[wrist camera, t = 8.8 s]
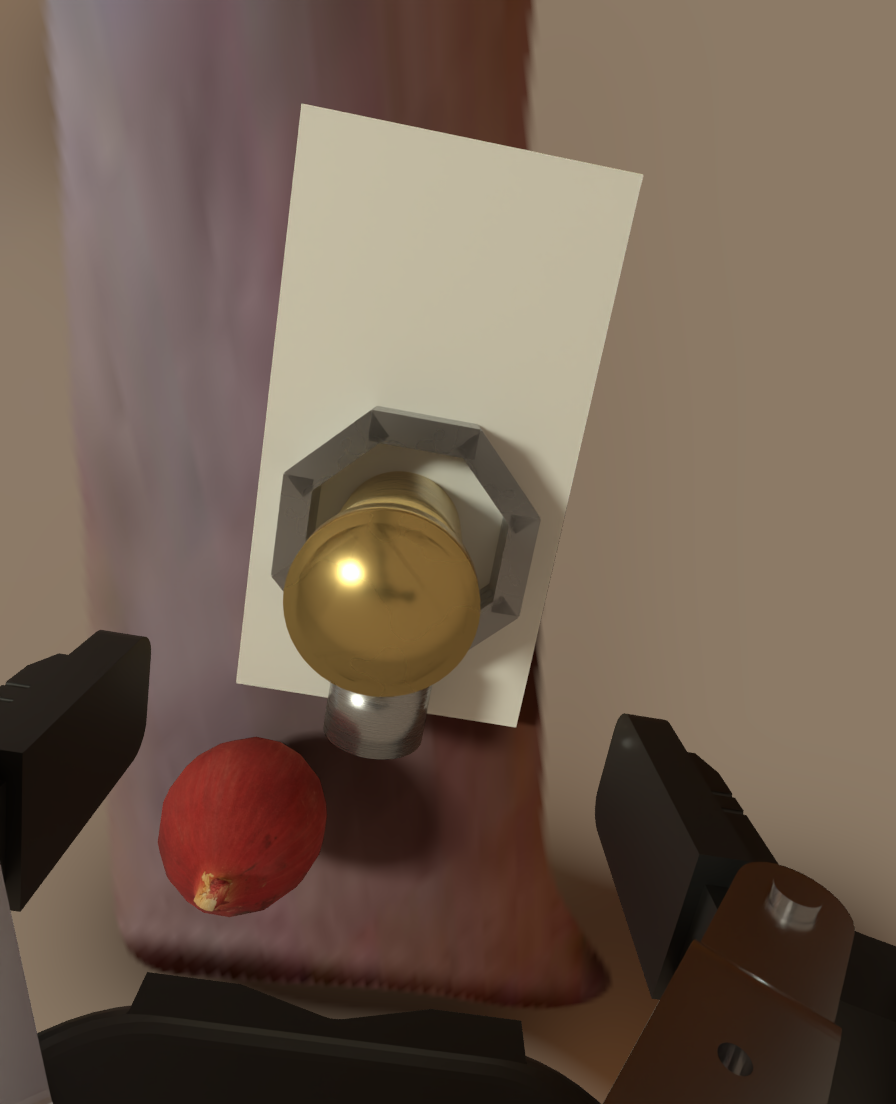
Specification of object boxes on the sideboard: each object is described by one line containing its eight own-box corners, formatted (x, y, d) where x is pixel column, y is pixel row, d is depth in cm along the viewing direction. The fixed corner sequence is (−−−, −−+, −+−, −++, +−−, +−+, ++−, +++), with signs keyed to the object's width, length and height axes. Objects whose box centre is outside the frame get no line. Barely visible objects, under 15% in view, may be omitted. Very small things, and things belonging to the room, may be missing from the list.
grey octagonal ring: (304, 392, 24) (281, 397, 21) (548, 437, 25) (566, 449, 21) (266, 690, 27) (241, 738, 24) (485, 724, 28) (492, 777, 24)
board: (307, 114, 23) (301, 103, 22) (635, 182, 23) (643, 174, 23) (243, 671, 28) (236, 683, 27) (513, 715, 29) (516, 727, 28)
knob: (341, 451, 25) (295, 494, 17) (481, 476, 25) (498, 530, 17) (322, 584, 26) (272, 680, 18) (455, 606, 26) (460, 710, 19)
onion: (351, 814, 30) (321, 973, 22) (219, 834, 30) (142, 999, 22) (322, 691, 28) (278, 815, 21) (182, 713, 28) (87, 844, 21)
